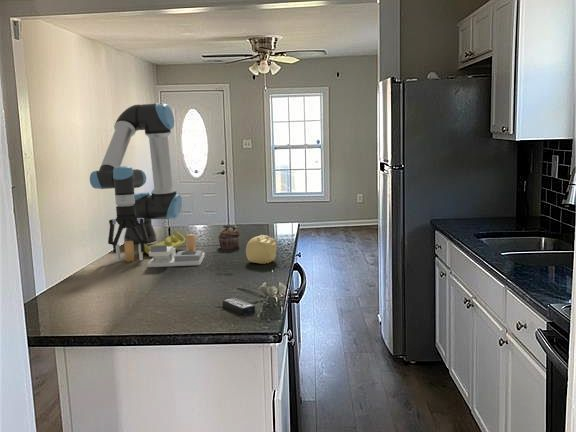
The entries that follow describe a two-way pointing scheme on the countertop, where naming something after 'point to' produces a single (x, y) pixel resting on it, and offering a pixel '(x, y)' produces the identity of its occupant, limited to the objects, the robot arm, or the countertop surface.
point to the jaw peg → (129, 251)
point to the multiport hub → (239, 306)
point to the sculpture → (261, 249)
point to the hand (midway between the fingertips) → (129, 260)
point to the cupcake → (229, 237)
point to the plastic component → (168, 242)
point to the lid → (160, 250)
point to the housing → (180, 256)
